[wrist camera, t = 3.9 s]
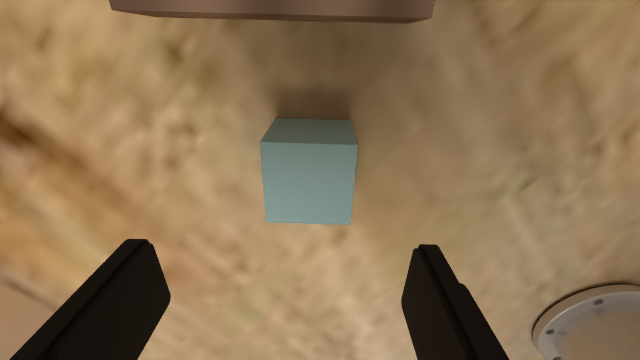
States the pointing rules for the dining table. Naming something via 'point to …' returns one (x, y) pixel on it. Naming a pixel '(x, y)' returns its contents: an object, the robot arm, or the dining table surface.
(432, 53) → the dining table surface
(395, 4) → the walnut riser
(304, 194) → the teal cube
